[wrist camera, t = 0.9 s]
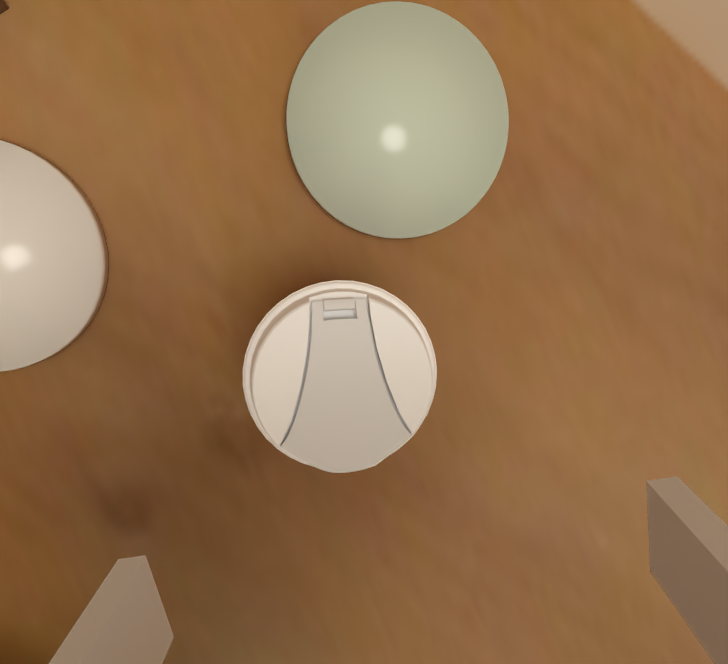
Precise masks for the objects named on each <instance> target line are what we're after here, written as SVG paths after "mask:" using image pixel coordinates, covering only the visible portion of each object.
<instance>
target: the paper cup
mask: <svg viewBox="0 0 728 664" xmlns="http://www.w3.org/2000/svg"><path fill="white" fill-rule="evenodd" d="M436 378H437V367H436V358H435V353H434V349H433V346H432V342H431V340H430V338H429V335H428V333H427V331H426V329H425V327H424V326H423V324H422V323H421V321H420V320H419V318H418V317H417V315H416V314H415V313H414V312H413V311H412V310H411V309H410V308H409V307H408V306H407V305H406V304H405V303H403V302H402V301H401V300H400V299H398V298H397V297H396V296H394V295H392V294H390V293H389V292H387V291H385V290H383V289H381V288H378V287H376V286H373V285H370V284H367V283H362V282H356V281H344V280H335V281H327V282H320V283H317V284H314V285H310V286H307V287H304V288H302V289H300V290H298V291H296V292H294V293H292V294H290V295H289V296H287V297H286V298H284V299H283V300H282V301H280V302H279V303H277V304H276V305H275V306H274V307H273V308H272V309H271V310H270V311H269V312H268V313H267V314H266V316H265V317H264V318H263V319H262V321H261V322H260V323H259V325H258V326H257V328H256V330H255V332H254V334H253V336H252V337H251V339H250V342H249V345H248V348H247V351H246V354H245V359H244V365H243V389H244V395H245V400H246V403H247V406H248V409H249V412H250V414H251V416H252V418H253V420H254V422H255V424H256V425H257V427H258V429H259V430H260V431H261V432H262V434H263V435H264V436H265V438H266V439H267V440H268V441H269V442H270V443H272V444H273V445H274V446H275V447H276V448H277V449H278V450H280V451H281V452H283V453H284V454H286V455H287V456H289V457H290V458H292V459H295V460H297V461H299V462H301V463H303V464H307V465H310V466H313V467H316V468H318V469H321V470H324V471H327V472H331V473H347V472H354V471H359V470H363V469H366V468H369V467H373V466H376V465H377V464H378V463H380V462H381V461H382V460H384V459H385V458H386V457H388V456H389V455H390V454H392V453H393V452H395V451H396V450H398V449H399V448H401V447H402V446H403V445H404V444H405V443H406V442H407V441H408V440H409V439H410V438H411V437H412V436H413V435H414V434H415V432H416V431H417V430H418V428H419V427H420V426H421V424H422V422H423V421H424V419H425V417H426V415H427V414H428V411H429V409H430V406H431V404H432V401H433V397H434V393H435V388H436Z"/></svg>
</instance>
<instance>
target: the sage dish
mask: <svg viewBox="0 0 728 664" xmlns="http://www.w3.org/2000/svg"><path fill="white" fill-rule="evenodd" d="M508 127H509V117H508V104H507V99H506V93H505V89H504V86H503V83H502V79H501V77H500V74H499V72H498V70H497V67H496V65H495V63H494V62H493V60H492V58H491V56H490V55H489V53H488V51H487V50H486V49H485V47H484V46H483V45H482V44H481V42H480V41H479V40H478V39H477V38H476V37H475V36H474V35H473V34H472V33H471V32H470V31H469V30H468V29H467V28H466V27H465V26H463V25H462V24H461V23H459V22H458V21H457V20H455V19H454V18H452V17H450V16H448V15H447V14H445V13H443V12H441V11H439V10H436V9H434V8H431V7H428V6H425V5H421V4H416V3H411V2H399V1H396V2H381V3H377V4H372V5H367V6H364V7H362V8H359V9H356V10H353V11H352V12H350V13H348V14H346V15H344V16H342V17H340V18H339V19H338V20H336V21H335V22H333V23H332V24H331V25H329V26H328V27H327V28H326V29H325V30H324V31H323V32H322V33H321V34H320V35H319V36H318V37H317V38H316V39H315V40H314V42H313V43H312V44H311V45H310V47H309V48H308V49H307V51H306V52H305V54H304V56H303V58H302V59H301V61H300V63H299V65H298V67H297V70H296V72H295V74H294V77H293V80H292V84H291V87H290V91H289V96H288V103H287V134H288V142H289V147H290V151H291V155H292V159H293V162H294V165H295V167H296V170H297V172H298V174H299V176H300V178H301V180H302V182H303V184H304V186H305V187H306V189H307V190H308V192H309V193H310V194H311V196H312V197H313V198H314V200H315V201H316V202H317V203H318V204H319V205H320V206H321V207H322V208H323V209H324V210H325V211H326V212H327V213H329V214H330V215H331V216H332V217H333V218H335V219H336V220H338V221H339V222H341V223H343V224H344V225H346V226H348V227H350V228H352V229H354V230H356V231H358V232H361V233H365V234H368V235H371V236H376V237H382V238H411V237H418V236H422V235H427V234H431V233H433V232H436V231H438V230H441V229H443V228H445V227H447V226H449V225H451V224H453V223H454V222H456V221H457V220H459V219H460V218H461V217H463V216H464V215H466V214H467V213H468V212H469V211H470V210H471V209H472V208H473V207H474V206H475V205H476V204H477V203H478V202H479V201H480V200H481V198H482V197H483V196H484V195H485V194H486V192H487V191H488V189H489V187H490V186H491V184H492V183H493V181H494V179H495V177H496V175H497V173H498V171H499V168H500V166H501V163H502V160H503V157H504V154H505V149H506V144H507V139H508Z"/></svg>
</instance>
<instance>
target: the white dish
mask: <svg viewBox="0 0 728 664" xmlns="http://www.w3.org/2000/svg"><path fill="white" fill-rule="evenodd" d="M108 270H109V262H108V250H107V244H106V238H105V235H104V232H103V229H102V226H101V223H100V221H99V219H98V217H97V214H96V212H95V210H94V208H93V207H92V205H91V204H90V202H89V200H88V199H87V197H86V196H85V195H84V193H83V192H82V191H81V190H80V188H79V187H78V186H77V185H76V184H75V183H74V182H73V181H72V180H71V179H70V178H69V177H68V176H67V175H66V174H65V173H64V172H63V171H62V170H60V169H59V168H58V167H56V166H55V165H54V164H52V163H51V162H49V161H48V160H46V159H44V158H43V157H41V156H39V155H38V154H36V153H34V152H31V151H29V150H27V149H24V148H22V147H20V146H17V145H14V144H11V143H8V142H4V141H1V140H0V371H9V370H14V369H18V368H22V367H26V366H28V365H31V364H34V363H36V362H39V361H41V360H43V359H46V358H48V357H50V356H52V355H54V354H55V353H57V352H59V351H61V350H63V349H64V348H65V347H67V346H68V345H69V344H71V343H72V342H74V341H75V340H76V339H77V338H78V337H79V336H80V335H81V334H82V333H83V332H84V331H85V329H86V328H87V327H88V325H89V324H90V323H91V322H92V320H93V318H94V317H95V315H96V313H97V311H98V310H99V307H100V305H101V302H102V300H103V297H104V294H105V290H106V286H107V281H108Z"/></svg>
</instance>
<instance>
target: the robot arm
mask: <svg viewBox="0 0 728 664" xmlns="http://www.w3.org/2000/svg"><path fill="white" fill-rule="evenodd" d="M646 485H647V508H648V531H649V555H650V572H651V573H652V575H653V576H654V578H655V579H656V581H657V582H658V583H659V585H660V586H661V588H662V589H663V591H664V592H665V593H666V595H667V596H668V598H669V599H670V600H671V602H672V603H673V605H674V606H675V608H676V609H677V610H678V612H679V613H680V615H681V616H682V618H683V619H684V620H685V622H686V623H687V625H688V626H689V628H690V629H691V630H692V632H693V633H694V635H695V636H696V638H697V639H698V640H699V642H700V643H701V645H702V646H703V648H704V649H705V650H706V652H707V653H708V655H709V656H710V658H711V659H712V660H713V662H714V663H715V664H728V526H727V525H726V524H725V523H724V522H723V521H722V520H721V519H720V518H719V517H718V516H717V515H716V514H715V513H714V512H713V511H712V510H711V509H710V508H709V507H708V506H707V505H706V504H705V503H704V502H703V501H702V500H701V499H700V498H699V497H698V496H697V495H696V494H695V493H694V492H693V491H692V490H691V489H690V488H689V487H688V486H687V485H686V484H685V483H684V482H683V481H682V480H681V479H680V478H679V477H678V476H677V477H670V478H663V479H656V480H650V481H646ZM173 638H174V635H173V633H172V630H171V627H170V624H169V621H168V618H167V615H166V613H165V610H164V607H163V604H162V601H161V598H160V595H159V593H158V590H157V587H156V584H155V581H154V578H153V575H152V573H151V570H150V567H149V564H148V561H147V558H146V555H143V556H136V557H130V558H123V559H118V560H117V562H116V563H115V565H114V566H113V568H112V569H111V571H110V572H109V574H108V575H107V577H106V578H105V580H104V581H103V583H102V584H101V586H100V587H99V589H98V590H97V592H96V593H95V595H94V596H93V598H92V599H91V601H90V602H89V604H88V605H87V607H86V608H85V610H84V611H83V613H82V614H81V616H80V617H79V619H78V620H77V622H76V623H75V625H74V626H73V628H72V629H71V631H70V632H69V634H68V635H67V637H66V638H65V640H64V641H63V643H62V644H61V646H60V647H59V649H58V650H57V652H56V653H55V655H54V656H53V658H52V659H51V661H50V662H49V664H163V661H164V659H165V657H166V654H167V652H168V650H169V647H170V645H171V643H172V640H173Z"/></svg>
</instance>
